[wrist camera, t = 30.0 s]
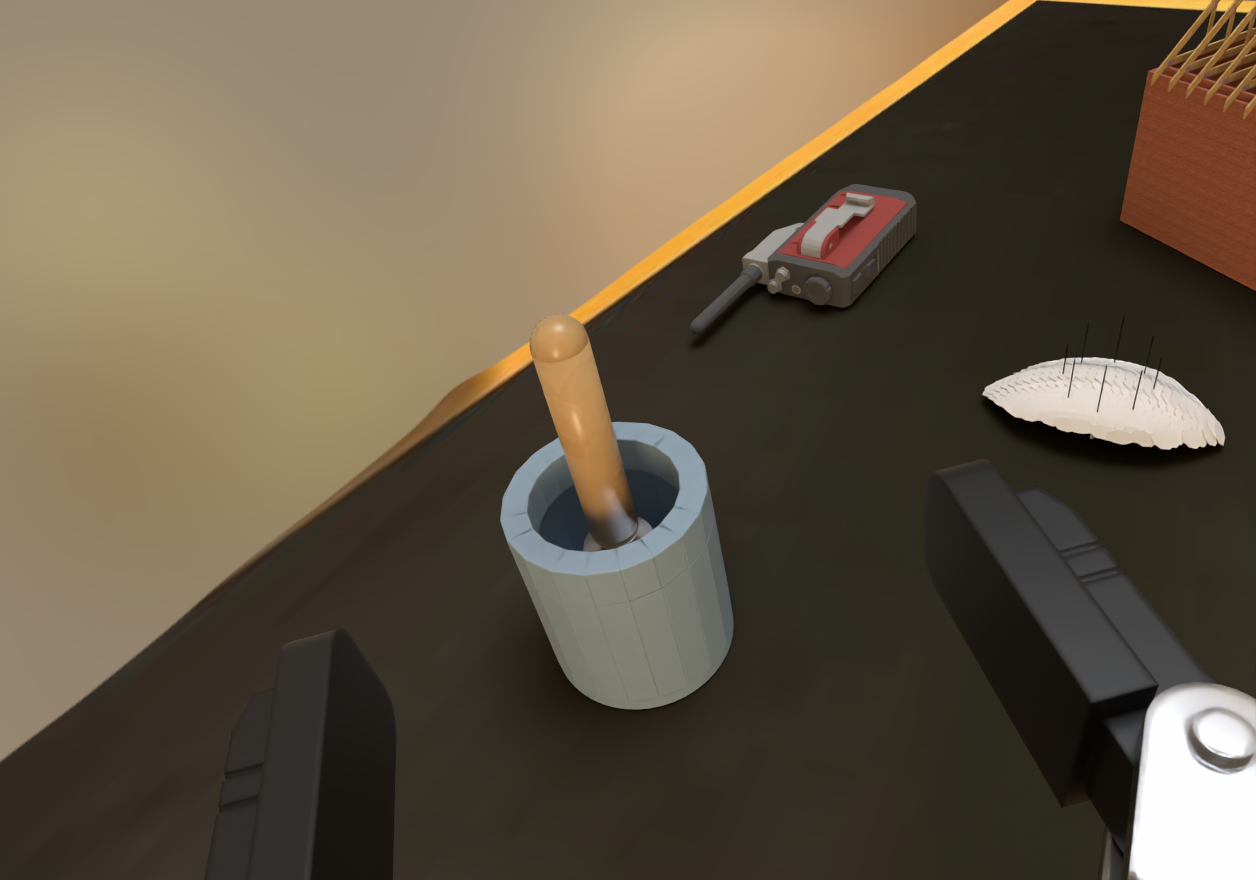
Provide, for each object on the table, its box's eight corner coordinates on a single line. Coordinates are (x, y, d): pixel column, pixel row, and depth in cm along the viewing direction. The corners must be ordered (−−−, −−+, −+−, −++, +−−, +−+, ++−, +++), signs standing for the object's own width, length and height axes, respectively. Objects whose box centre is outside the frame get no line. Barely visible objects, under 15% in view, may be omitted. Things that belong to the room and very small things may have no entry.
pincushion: (967, 432, 50) (974, 352, 47) (998, 368, 54) (1006, 289, 50) (1214, 485, 44) (1243, 399, 41) (1230, 410, 48) (1259, 323, 44)
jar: (670, 742, 40) (628, 606, 33) (521, 662, 44) (458, 530, 38) (766, 597, 45) (745, 453, 38) (622, 539, 49) (582, 402, 43)
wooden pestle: (655, 675, 41) (562, 371, 30) (579, 637, 44) (464, 342, 32) (705, 603, 44) (638, 296, 32) (631, 572, 46) (542, 275, 35)
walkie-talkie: (825, 206, 72) (683, 343, 62) (822, 155, 69) (673, 290, 59) (929, 224, 67) (793, 376, 57) (930, 170, 64) (788, 319, 54)
